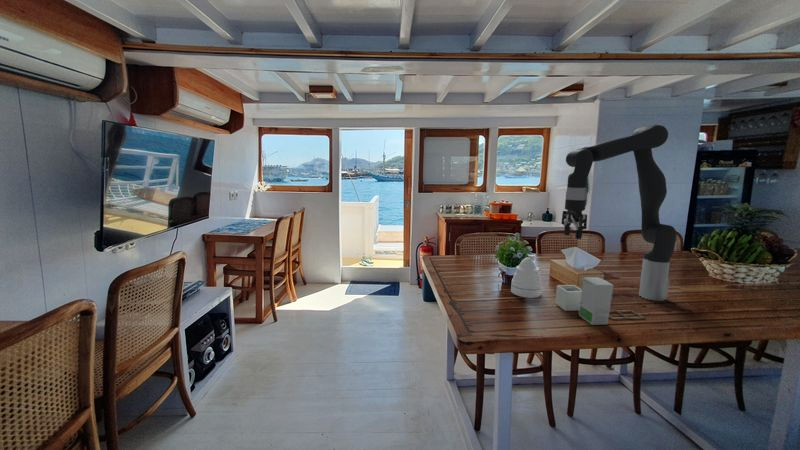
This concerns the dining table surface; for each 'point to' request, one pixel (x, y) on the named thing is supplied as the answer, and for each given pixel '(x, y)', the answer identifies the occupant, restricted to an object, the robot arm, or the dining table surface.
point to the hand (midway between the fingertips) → (572, 236)
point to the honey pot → (526, 279)
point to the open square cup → (568, 297)
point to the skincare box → (595, 300)
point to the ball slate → (569, 289)
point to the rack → (624, 315)
